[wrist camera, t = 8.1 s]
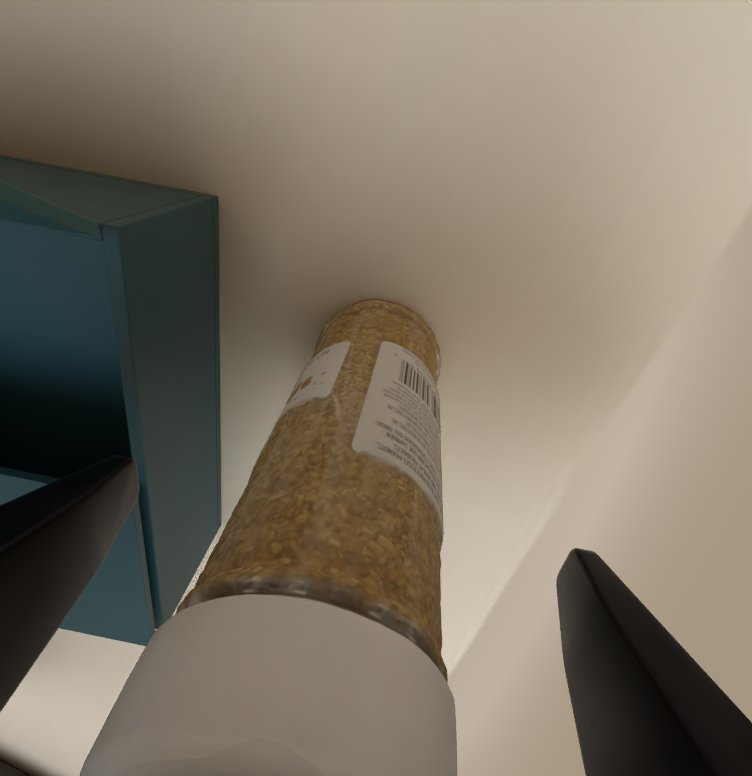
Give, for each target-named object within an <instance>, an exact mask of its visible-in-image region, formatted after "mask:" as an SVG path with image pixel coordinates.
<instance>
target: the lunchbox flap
mask: <svg viewBox="0 0 752 776" xmlns="http://www.w3.org/2000/svg"><path fill="white" fill-rule="evenodd" d="M0 219H3V220H8V221H13V222H18V223H23V224H29V225H34V226H39V227H44V228H49V229H54V230H60V231H65V232H70V233H75V234H80V235H86V236H91V237H95V236H96V232H97V223H96V222H94V221H92V220H89V219H87V218H85V217H82V216H80V215H78V214H76V213H73V212H71V211H69V210H67V209H64V208H62V207H60V206H57V205H55V204H53V203H51V202H48V201H46V200H44V199H41V198H39V197H37V196H35V195H32V194H30V193H28V192H26V191H23V190H21V189H19V188H16V187H14V186H12V185H10V184H7V183H5V182H3V181H1V180H0Z"/></svg>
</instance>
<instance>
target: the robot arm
mask: <svg viewBox="0 0 752 776" xmlns="http://www.w3.org/2000/svg"><path fill="white" fill-rule="evenodd" d="M139 490H140V487H139V479H138V471H137V464H136V462H135V460H134V459H132V458H128V457H123V456H118V455H113V456H110V457H108V458H105V459H103V460H101V461H99V462H96V463H94V464H92V465H90V466H87V467H85V468H83V469H81V470H78V471H76V472H74V473H72V474H70V475H67V476H65V477H63V478H61V479H58V480H56V481H54V482H52V483H49V484H47V485H45V486H43V487H40V488H38V489H36V490H34V491H31V492H29V493H27V494H25V495H22V496H20V497H18V498H16V499H13V500H11V501H9V502H7V503H4V504H2V505H0V712H1V711H2V709H3V708H4V706H5V705H6V703H7V702H8V700H9V699H10V697H11V696H12V695H13V693H14V692H15V690H16V689H17V687H18V686H19V684H20V683H21V681H22V680H23V679H24V677H25V676H26V674H27V673H28V671H29V670H30V668H31V667H32V665H33V664H34V663H35V661H36V660H37V658H38V657H39V655H40V654H41V652H42V651H43V650H44V648H45V647H46V645H47V644H48V642H49V641H50V639H51V638H52V636H53V635H54V634H55V632H56V631H57V629H58V628H59V626H60V625H61V623H62V622H63V620H64V619H65V618H66V616H67V615H68V613H69V612H70V610H71V609H72V607H73V606H74V604H75V603H76V602H77V600H78V599H79V597H80V596H81V594H82V593H83V591H84V590H85V589H86V587H87V586H88V584H89V583H90V581H91V580H92V578H93V577H94V575H95V574H96V572H97V571H98V569H99V568H100V566H101V564H102V563H103V561H104V559H105V558H106V556H107V554H108V552H109V550H110V548H111V547H112V545H113V543H114V541H115V539H116V537H117V536H118V534H119V532H120V530H121V528H122V526H123V525H124V523H125V521H126V519H127V517H128V515H129V514H130V512H131V510H132V508H133V506H134V504H135V503H136V501H137V499H138V496H139ZM556 585H557V597H558V608H559V619H560V630H561V641H562V652H563V660H564V667H565V672H566V678H567V683H568V688H569V693H570V698H571V703H572V708H573V713H574V718H575V723H576V728H577V733H578V738H579V743H580V748H581V754H582V758H583V764H584V768H585V774H586V776H752V723H751V721H750V720H749V719H748V718H747V717H746V716H745V715H744V714H743V713H742V712H741V711H740V709H739V708H738V707H737V706H736V705H735V704H734V703H733V702H732V701H731V700H730V699H729V697H728V696H727V695H726V694H725V693H724V692H723V691H722V690H721V689H720V688H719V687H718V685H717V684H715V682H714V681H713V680H712V679H711V678H710V677H709V676H708V675H707V673H706V672H705V671H704V670H703V669H702V668H701V667H700V666H699V665H698V664H697V663H696V662H695V660H694V659H693V658H692V657H691V656H690V655H689V654H688V653H687V652H686V651H685V649H684V648H683V647H682V646H681V645H680V644H679V643H678V642H677V641H676V640H675V639H674V637H673V636H672V635H671V634H670V633H669V632H668V631H667V630H666V629H665V628H664V627H663V625H662V624H661V623H660V622H659V621H658V620H657V619H656V618H655V617H654V616H653V615H652V613H651V612H650V611H649V610H648V609H647V608H646V607H645V606H644V605H643V604H642V603H641V602H640V600H639V599H638V598H637V597H636V596H635V595H634V594H633V593H632V592H631V591H630V590H629V588H628V587H627V586H626V585H625V584H624V583H623V582H622V581H621V580H620V579H619V577H618V576H617V575H616V574H615V573H614V572H613V571H612V570H611V569H610V568H609V567H608V565H607V564H606V563H605V562H604V561H603V560H602V559H601V558H600V557H599V556H598V555H597V554H596V553H595V552H592V551H588V550H583V549H578V548H575V549H573V550H571V552H570V553H569V555H568V557H567V559H566V560H565V562H564V564H563V566H562V568H561V570H560V572H559V574H558V576H557V584H556Z"/></svg>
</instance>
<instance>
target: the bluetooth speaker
mask: <svg viewBox="0 0 752 776" xmlns="http://www.w3.org/2000/svg"><path fill="white" fill-rule="evenodd" d="M0 776H27V775H26V774H24V773H22V772H21V771H19V770H17V769H15V768H13V767H11V766H10V765H8V764H5V763H3V762H1V761H0Z"/></svg>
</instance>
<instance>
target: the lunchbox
mask: <svg viewBox="0 0 752 776" xmlns="http://www.w3.org/2000/svg"><path fill="white" fill-rule="evenodd" d="M0 180H1V181H3V182H5V183H7V184H10V185H12V186H14V187H16V188H19V189H21V190H23V191H26V192H28V193H30V194H32V195H35V196H37V197H39V198H41V199H44V200H46V201H48V202H51V203H53V204H55V205H57V206H60V207H62V208H64V209H67V210H69V211H71V212H73V213H76V214H78V215H80V216H82V217H85V218H87V219H89V220H92V221H94V222H96V223H97V232H96V236H95V237H91V236H86V235H80V234H75V233H70V232H65V231H60V230H54V229H49V228H44V227H39V226H34V225H29V224H23V223H18V222H13V221H8V220H3V219H0V505H2V504H4V503H7V502H9V501H11V500H13V499H16V498H18V497H20V496H22V495H25V494H27V493H29V492H31V491H34V490H36V489H38V488H40V487H43V486H45V485H47V484H49V483H52V482H54V481H56V480H58V479H61V478H63V477H65V476H67V475H70V474H72V473H74V472H76V471H78V470H81V469H83V468H85V467H87V466H90V465H92V464H94V463H96V462H99V461H101V460H103V459H105V458H108V457H110V456H113V455H118V456H123V457H128V458H132V459H134V460H135V462H136V464H137V471H138V479H139V487H140V490H139V496H138V499H137V501H136V503H135V504H134V506H133V508H132V510H131V512H130V514H129V515H128V517H127V519H126V521H125V523H124V525H123V526H122V528H121V530H120V532H119V534H118V536H117V537H116V539H115V541H114V543H113V545H112V547H111V548H110V550H109V552H108V554H107V556H106V558H105V559H104V561H103V563H102V564H101V566H100V568H99V569H98V571H97V572H96V574H95V575H94V577H93V578H92V580H91V581H90V583H89V584H88V586H87V587H86V589H85V590H84V591H83V593H82V594H81V596H80V597H79V599H78V600H77V602H76V603H75V604H74V606H73V607H72V609H71V610H70V612H69V613H68V615H67V616H66V618H65V619H64V620H63V622H62V623H61V625H60V626H59V628H61V629H66V630H71V631H76V632H81V633H85V634H90V635H95V636H100V637H105V638H110V639H114V640H119V641H124V642H129V643H134V644H138V645H143V646H147V644H148V642H149V640H150V639H151V637H152V635H153V634H154V633H155V629H158V628H159V627H160V626H161V625H162V624H163V623H164V622H166V621H167V620H168V619H169V618H171V617H172V615H173V613H174V611H175V609H176V607H177V605H178V604H179V602H180V600H181V598H182V596H183V594H184V593H185V591H186V589H187V587H188V585H189V583H190V581H191V580H192V578H193V576H194V574H195V572H196V570H197V568H198V567H199V565H200V563H201V561H202V559H203V557H204V556H205V554H206V552H207V550H208V548H209V546H210V544H211V543H212V541H213V539H214V537H215V535H216V533H217V532H218V530H219V528H220V526H221V467H220V363H219V258H218V197H217V196H213V195H208V194H203V193H197V192H192V191H187V190H182V189H176V188H171V187H166V186H161V185H155V184H150V183H145V182H140V181H134V180H129V179H124V178H118V177H113V176H108V175H103V174H97V173H92V172H87V171H82V170H76V169H71V168H66V167H61V166H55V165H50V164H45V163H40V162H34V161H29V160H24V159H19V158H13V157H8V156H3V155H0Z"/></svg>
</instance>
